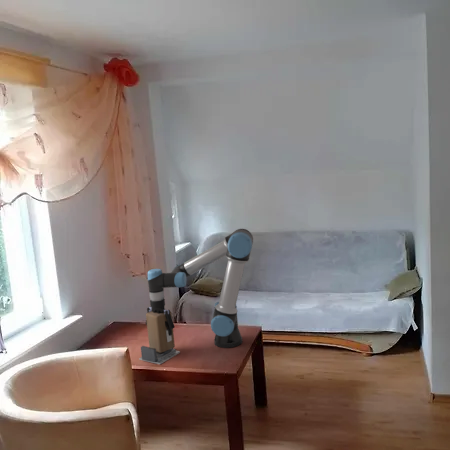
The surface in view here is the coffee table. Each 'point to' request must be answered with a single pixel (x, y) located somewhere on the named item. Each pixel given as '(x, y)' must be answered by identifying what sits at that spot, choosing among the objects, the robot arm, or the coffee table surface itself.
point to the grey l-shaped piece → (156, 355)
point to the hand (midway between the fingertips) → (161, 339)
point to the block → (158, 332)
